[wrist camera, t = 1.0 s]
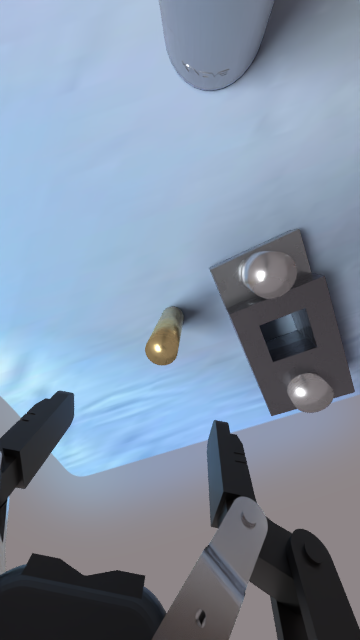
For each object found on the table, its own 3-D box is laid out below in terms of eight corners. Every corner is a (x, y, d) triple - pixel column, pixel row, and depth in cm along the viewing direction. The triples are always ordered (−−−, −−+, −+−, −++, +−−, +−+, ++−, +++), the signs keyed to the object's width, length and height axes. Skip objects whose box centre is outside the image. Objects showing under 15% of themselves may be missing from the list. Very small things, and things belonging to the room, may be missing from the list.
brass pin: (163, 304, 28) (147, 333, 19) (185, 308, 28) (179, 339, 19) (160, 325, 29) (143, 362, 20) (181, 329, 29) (174, 367, 20)
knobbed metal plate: (209, 268, 26) (212, 274, 20) (289, 230, 24) (320, 224, 18) (260, 390, 31) (275, 425, 25) (329, 368, 29) (364, 400, 23)
